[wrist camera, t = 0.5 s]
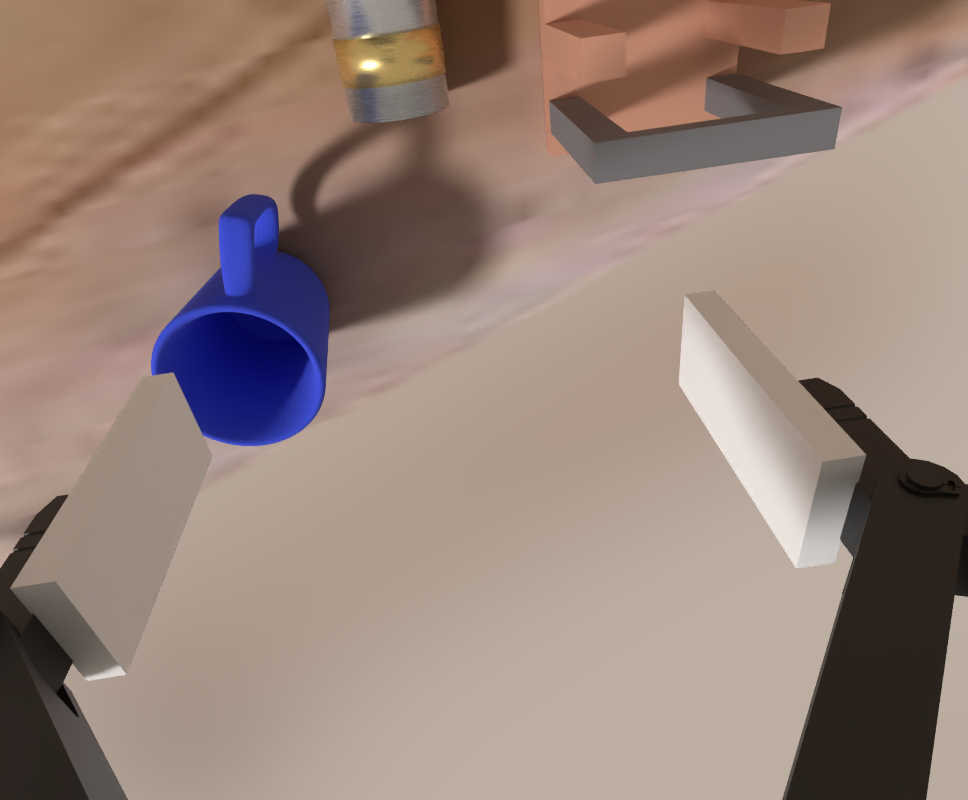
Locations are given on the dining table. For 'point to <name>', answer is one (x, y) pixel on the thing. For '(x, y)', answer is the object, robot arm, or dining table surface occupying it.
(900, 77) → the dining table surface
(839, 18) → the dining table surface
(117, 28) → the dining table surface
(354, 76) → the tube
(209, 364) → the mug
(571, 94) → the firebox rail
